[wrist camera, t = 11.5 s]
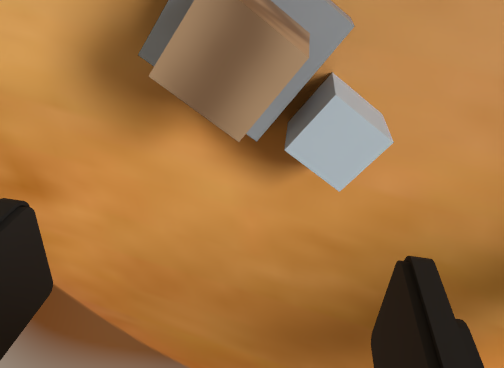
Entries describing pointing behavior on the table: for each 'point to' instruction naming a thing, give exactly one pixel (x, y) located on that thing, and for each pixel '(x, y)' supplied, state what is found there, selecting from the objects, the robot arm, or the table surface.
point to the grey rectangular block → (299, 9)
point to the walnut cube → (232, 60)
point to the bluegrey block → (337, 133)
